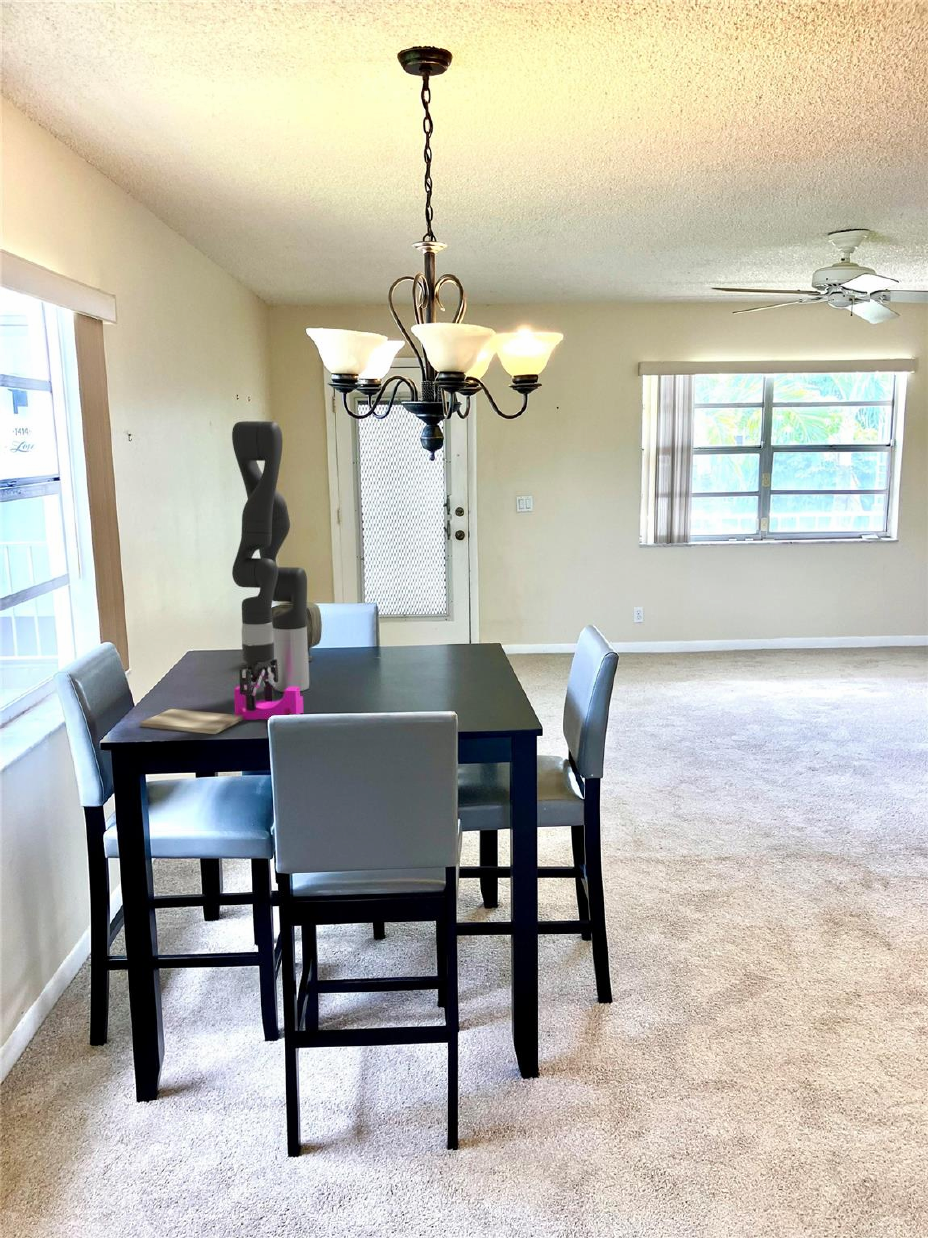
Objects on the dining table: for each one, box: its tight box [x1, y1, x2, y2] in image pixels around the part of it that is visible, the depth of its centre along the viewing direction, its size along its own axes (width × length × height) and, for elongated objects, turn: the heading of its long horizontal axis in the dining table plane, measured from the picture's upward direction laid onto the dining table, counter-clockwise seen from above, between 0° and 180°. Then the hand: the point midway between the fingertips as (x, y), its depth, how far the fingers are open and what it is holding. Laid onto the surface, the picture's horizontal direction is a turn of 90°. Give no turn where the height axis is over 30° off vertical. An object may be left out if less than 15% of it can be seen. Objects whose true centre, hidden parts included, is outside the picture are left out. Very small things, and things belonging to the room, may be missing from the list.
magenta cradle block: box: [233, 685, 304, 721], centre depth 215 cm, size 15×6×8 cm, turn 85°
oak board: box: [139, 708, 244, 735], centre depth 210 cm, size 12×20×1 cm, turn 73°
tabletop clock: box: [272, 601, 323, 662], centre depth 276 cm, size 14×9×25 cm, turn 77°
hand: (260, 705), depth 216 cm, fingers open, 8 cm apart
